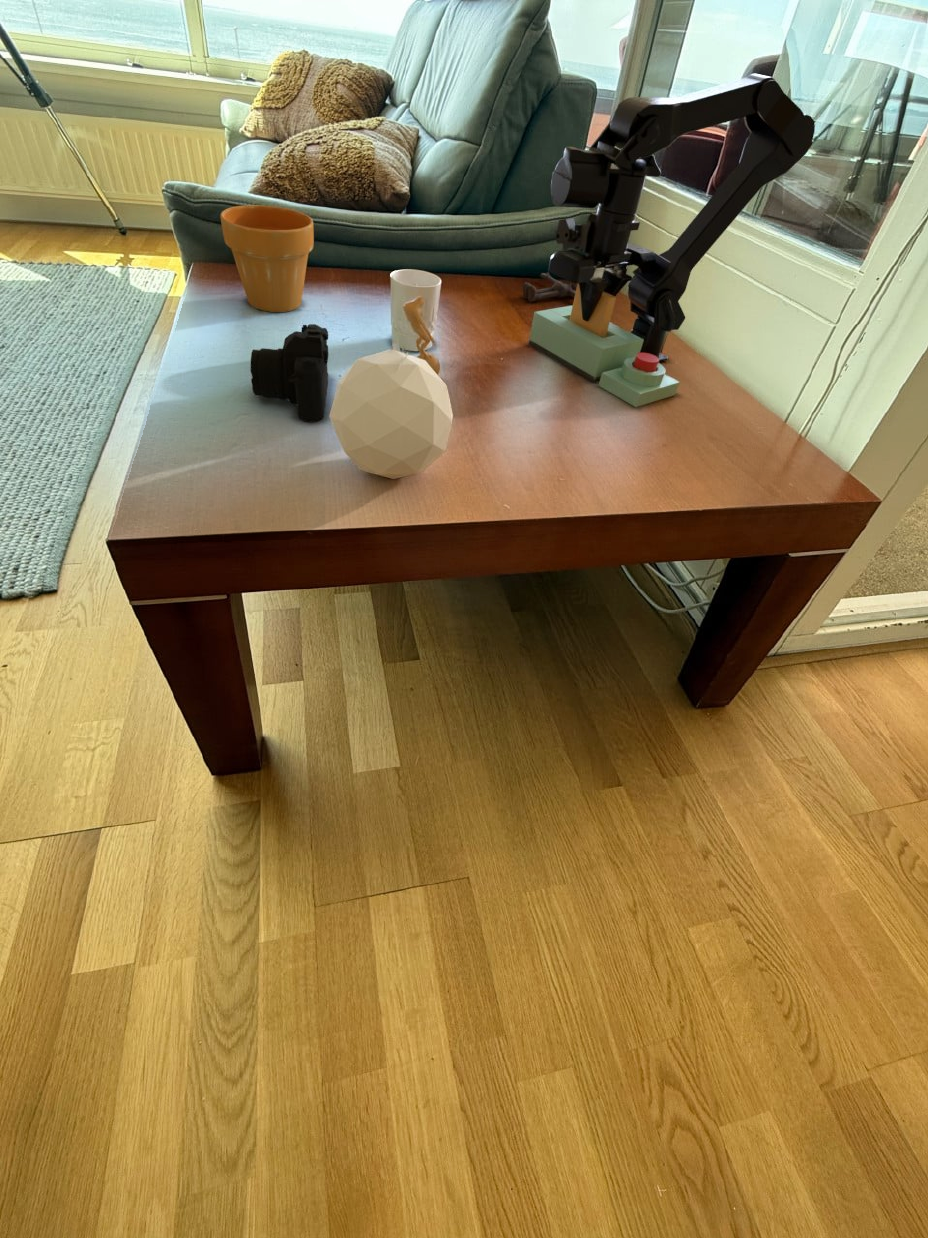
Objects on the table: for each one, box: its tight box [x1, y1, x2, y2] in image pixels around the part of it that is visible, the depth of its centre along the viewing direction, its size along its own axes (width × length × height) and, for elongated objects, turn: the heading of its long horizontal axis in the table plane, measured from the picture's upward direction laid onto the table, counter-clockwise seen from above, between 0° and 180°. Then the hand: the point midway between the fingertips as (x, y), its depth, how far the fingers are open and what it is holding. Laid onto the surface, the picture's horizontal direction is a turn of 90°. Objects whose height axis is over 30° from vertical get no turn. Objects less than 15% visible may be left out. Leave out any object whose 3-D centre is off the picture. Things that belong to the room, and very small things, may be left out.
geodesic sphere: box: [328, 342, 454, 480], centre depth 72 cm, size 15×14×14 cm
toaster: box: [527, 304, 644, 384], centre depth 106 cm, size 10×16×6 cm, turn 38°
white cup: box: [389, 268, 443, 352], centre depth 101 cm, size 8×8×10 cm
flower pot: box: [220, 204, 315, 313], centre depth 105 cm, size 14×14×13 cm
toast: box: [570, 284, 617, 338], centre depth 103 cm, size 2×7×8 cm, turn 38°
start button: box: [633, 353, 660, 372], centre depth 98 cm, size 4×4×2 cm
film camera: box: [250, 323, 329, 423], centre depth 83 cm, size 15×10×9 cm, turn 5°
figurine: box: [403, 296, 441, 376], centre depth 90 cm, size 8×6×12 cm
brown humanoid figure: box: [522, 271, 578, 303], centre depth 128 cm, size 18×4×14 cm
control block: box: [598, 357, 681, 408], centre depth 100 cm, size 10×8×4 cm
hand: (589, 319), depth 104 cm, fingers closed on toast, 2 cm apart
